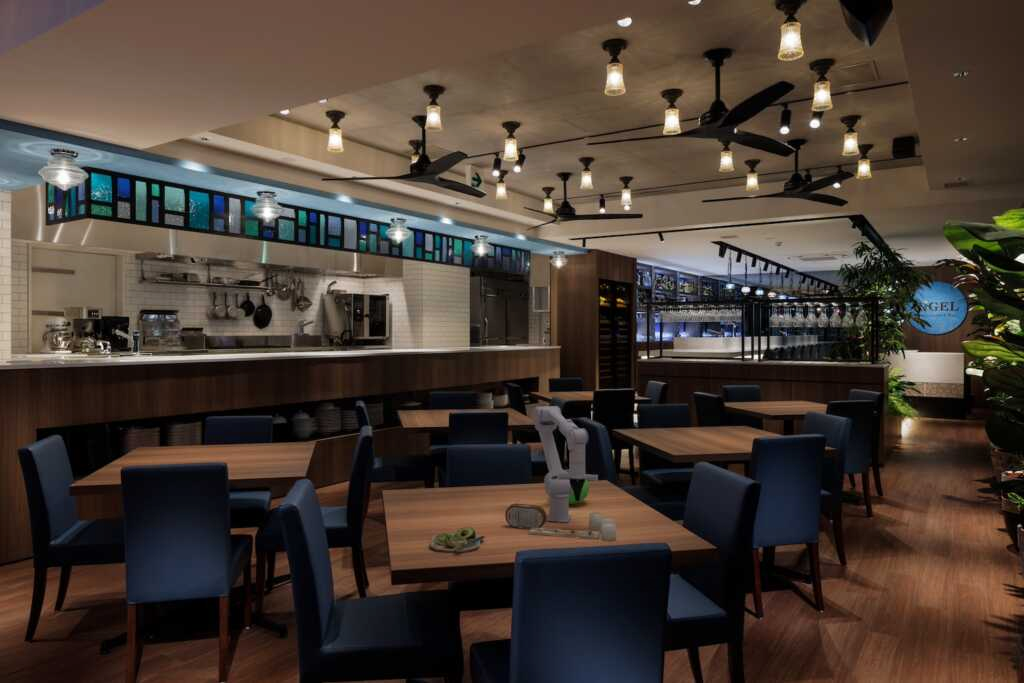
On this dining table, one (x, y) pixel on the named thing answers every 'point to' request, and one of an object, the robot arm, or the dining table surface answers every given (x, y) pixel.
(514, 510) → the tin
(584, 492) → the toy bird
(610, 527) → the cylindrical block
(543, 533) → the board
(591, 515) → the cylindrical block
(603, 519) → the cylindrical block
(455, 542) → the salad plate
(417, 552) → the dining table surface
